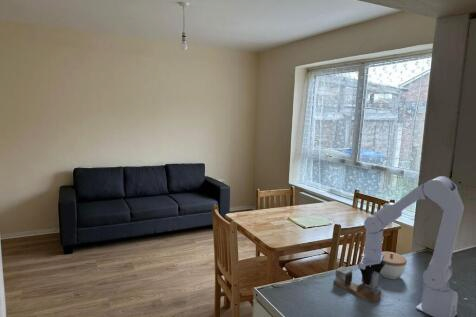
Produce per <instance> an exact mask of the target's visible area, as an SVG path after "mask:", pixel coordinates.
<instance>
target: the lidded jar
mask: <svg viewBox="0 0 476 317" xmlns="http://www.w3.org/2000/svg"><path fill="white" fill-rule="evenodd" d="M381 253H383V254H385V256H384V259H382V261H384V262H385V265H384V266H383V268H382V270H381V272H380V274H381V276H382V277H384V278H386V279H390V280H397V279H399V277H402V275H403V274H404V273H405V270H406V267H407V263H408V262H407V258H406V257H405V256H404V255H402V254H399V253H397V252H393V251H387V250H386V251H385V250H384V251H381Z"/></svg>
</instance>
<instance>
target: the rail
mask: <svg viewBox="0 0 476 317" xmlns="http://www.w3.org/2000/svg"><path fill="white" fill-rule="evenodd" d="M333 284H334V285H336V286H338V287H340V288H342V289H344V290H346V291H348V292H349V293H352V294H354V295H356V296H358V297H360V298H362V299H365V301H368V302H370V303H372V304H375V303H377V302H378V301H380V300H381V298H382V297H381V296H382V289H379V290H377V291H376V292H374V291H372V290H370V289H367V288H366V286H365V283H363V282H361V283H360V284H357V283H355V282H353V271H352V270H351V269H349V268H346V267H345V266H340V267H338V268H337V269H335V279H334V280H333Z"/></svg>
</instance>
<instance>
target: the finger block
mask: <svg viewBox="0 0 476 317" xmlns="http://www.w3.org/2000/svg"><path fill="white" fill-rule="evenodd" d="M379 278H380V274H379V273H378V272H375V271H374V272H373V274H372V277H371V282H370V285H367V284H365V287H368V288H369V289H372V290H373V289H375V288H376V287H378V286H379ZM361 283H364V282H363V277H362V276H361Z"/></svg>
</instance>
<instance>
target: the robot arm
mask: <svg viewBox="0 0 476 317" xmlns="http://www.w3.org/2000/svg"><path fill="white" fill-rule="evenodd" d="M427 199H429V200H431V201H432V202H434V203H435V204H437V205H438V206H439V208H441V210H443V212H442V215H441V216H442V217H441V220H440V224H439V229H438V233H437V237H436V241H435V245H434V250H433V253H432V257H431V260H430V262H429V264H428V267H427V269H425V271H424V272H423V273H422V282H423V284H422V292H421V293H422V294H421V295H422V296H421V302H420V303H419V304H418V305H416V306H415V309H416V310H418V311H421V312H422V313H424V314H426V315H429V316H431V317H456V315H457V313H458V311H457V310H458V302H459V301H458V300H459V293H458V292H456V291H455V290H453V289H452V288H451V286H450V283H449V280H450V279H451V278H452V277H453V269H452V266H451V265H452V263H453V261H452V256H453V253H454V248H455V245H456V242H457V237H458V232H459V229H460V227H461V226H460V225H461V222H462V219H463V218H462V217H463V214H464V211H465V205H464V203H463V200H462V198H461V195H460V193H459V191H458V186H457V184H456V183H454V182H453V180H452V179H451V178H449V177H447V176H443V175H441V176H436V177H434V178H433V179H429V180H428V181H426V182H425V183H422V184H421V185H418V186H416V187H414V188H413V189H412V190H411V191H409V192H408V193H407V194H405V195H404V196H403V197H401V198H400V199H398V201H396V202H385V203H384V204H383V205H382V207H381V208H380V209H378V210H377V211H374V212H373V213H372V214H373V215H370V216H367V217H366V218H365V220H364V222H363V226H364V228H365V243H364V253H363V254H361V255H360V257H361V258H362V259H361V261H360V262H359V264H358V265H357V266H358V269H359V270H360V273H361V278H362V277H363V282H364V283H365V284H367V285H370V282H371V277H372V274H373V272H374V271H375V272H378V273H379V275H380V274H381V273H380V272H381V270H382V268H383V266H384V265H385V262H384V261H382V259H384V256H385V254H383V253H381V252H383V251H382V250H383V238H384V237H383V236H384V229H385V228H386V227H387V226H389V225H390V224H392V223H393V222H395V221H396V220H398V219H399V218H401V217H402V213H403V210H405V209H407V208H408V207H409V206H411V205H412V204H414V203H415V202H418V201H419V200H427ZM363 282H362V283H363Z"/></svg>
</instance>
